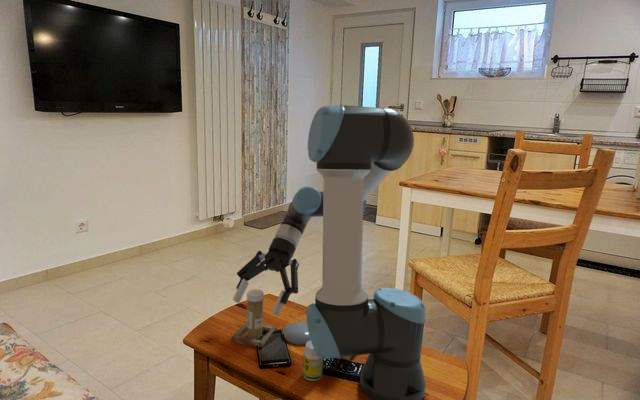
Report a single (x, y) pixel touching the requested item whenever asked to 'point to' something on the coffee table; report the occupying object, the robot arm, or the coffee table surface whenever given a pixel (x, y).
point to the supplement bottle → (312, 363)
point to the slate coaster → (297, 333)
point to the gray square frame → (248, 341)
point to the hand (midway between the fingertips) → (254, 307)
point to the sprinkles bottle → (254, 313)
